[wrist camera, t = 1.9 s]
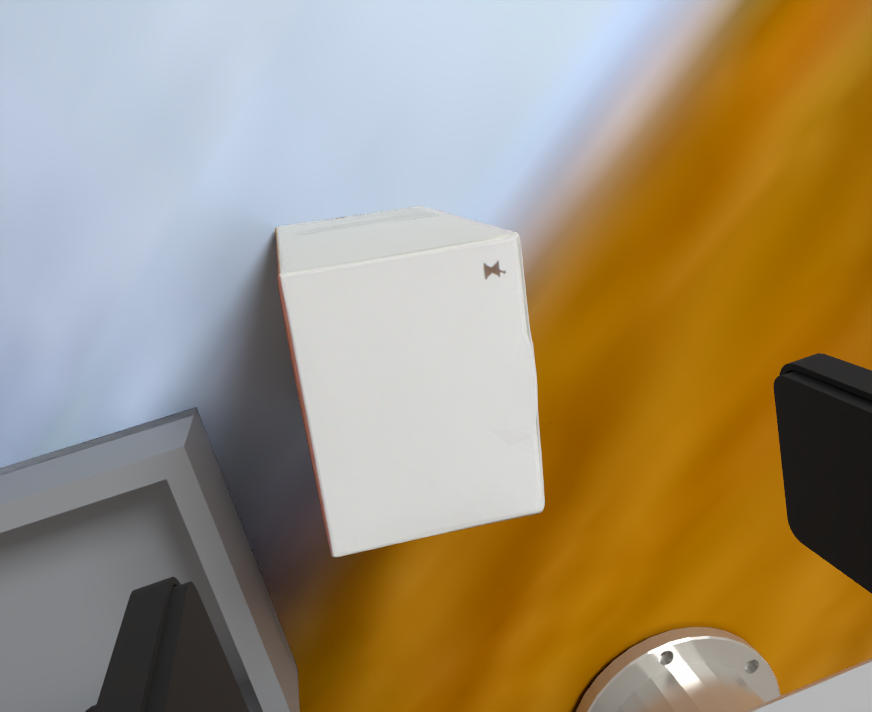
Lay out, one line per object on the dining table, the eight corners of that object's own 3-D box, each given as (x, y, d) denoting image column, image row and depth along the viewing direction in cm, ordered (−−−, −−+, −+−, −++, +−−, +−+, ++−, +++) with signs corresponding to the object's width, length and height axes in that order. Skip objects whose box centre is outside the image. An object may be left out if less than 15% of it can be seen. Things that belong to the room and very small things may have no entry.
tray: (297, 668, 34) (300, 738, 30) (-47, 795, 32) (-95, 890, 28) (196, 407, 30) (183, 446, 26) (-207, 533, 28) (-293, 598, 24)
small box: (272, 225, 29) (272, 267, 17) (423, 203, 30) (527, 227, 18) (307, 410, 31) (330, 565, 19) (446, 383, 33) (553, 513, 20)
